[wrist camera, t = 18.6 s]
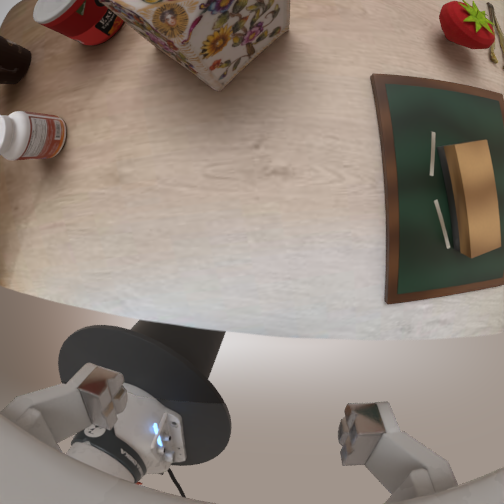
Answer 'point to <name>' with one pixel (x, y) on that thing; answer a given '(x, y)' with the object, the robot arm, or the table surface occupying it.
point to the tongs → (493, 19)
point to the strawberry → (466, 25)
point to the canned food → (78, 19)
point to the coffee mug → (12, 61)
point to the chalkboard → (432, 183)
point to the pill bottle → (31, 135)
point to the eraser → (471, 197)
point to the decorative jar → (207, 31)
